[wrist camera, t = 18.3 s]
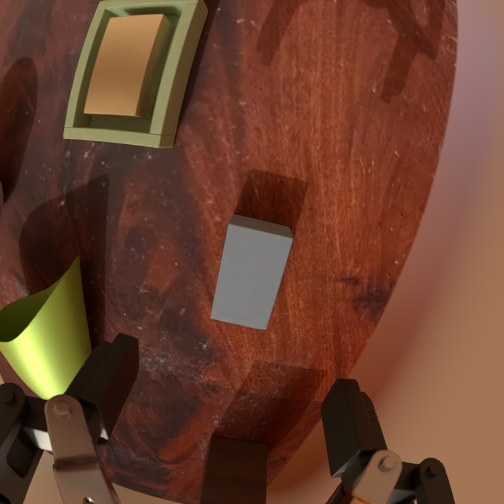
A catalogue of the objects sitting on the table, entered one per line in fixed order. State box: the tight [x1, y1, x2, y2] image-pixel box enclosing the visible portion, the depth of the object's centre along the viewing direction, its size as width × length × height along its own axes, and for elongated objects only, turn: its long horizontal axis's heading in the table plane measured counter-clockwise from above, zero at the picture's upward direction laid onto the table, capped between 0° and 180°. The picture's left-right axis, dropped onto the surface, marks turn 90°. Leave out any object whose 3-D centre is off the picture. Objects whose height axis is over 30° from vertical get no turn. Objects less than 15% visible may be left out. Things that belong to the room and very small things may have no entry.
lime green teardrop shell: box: [0, 256, 92, 400], centre depth 21 cm, size 8×12×20 cm
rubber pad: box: [211, 214, 293, 330], centre depth 20 cm, size 7×4×2 cm, turn 167°
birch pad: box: [84, 14, 175, 118], centre depth 14 cm, size 7×4×2 cm, turn 167°
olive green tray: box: [63, 0, 208, 148], centre depth 14 cm, size 11×8×3 cm
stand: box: [197, 436, 267, 504], centre depth 26 cm, size 9×7×11 cm
